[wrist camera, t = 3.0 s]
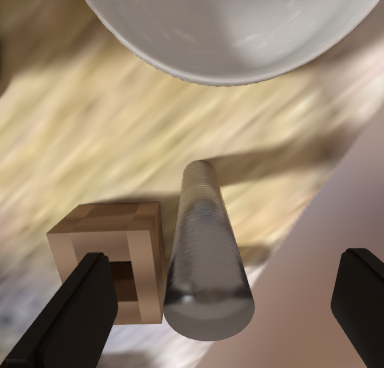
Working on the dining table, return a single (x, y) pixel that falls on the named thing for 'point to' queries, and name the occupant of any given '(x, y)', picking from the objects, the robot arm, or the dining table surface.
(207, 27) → the cereal bowl
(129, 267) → the walnut hole block
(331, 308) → the robot arm
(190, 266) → the long steel pin
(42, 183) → the dining table surface
